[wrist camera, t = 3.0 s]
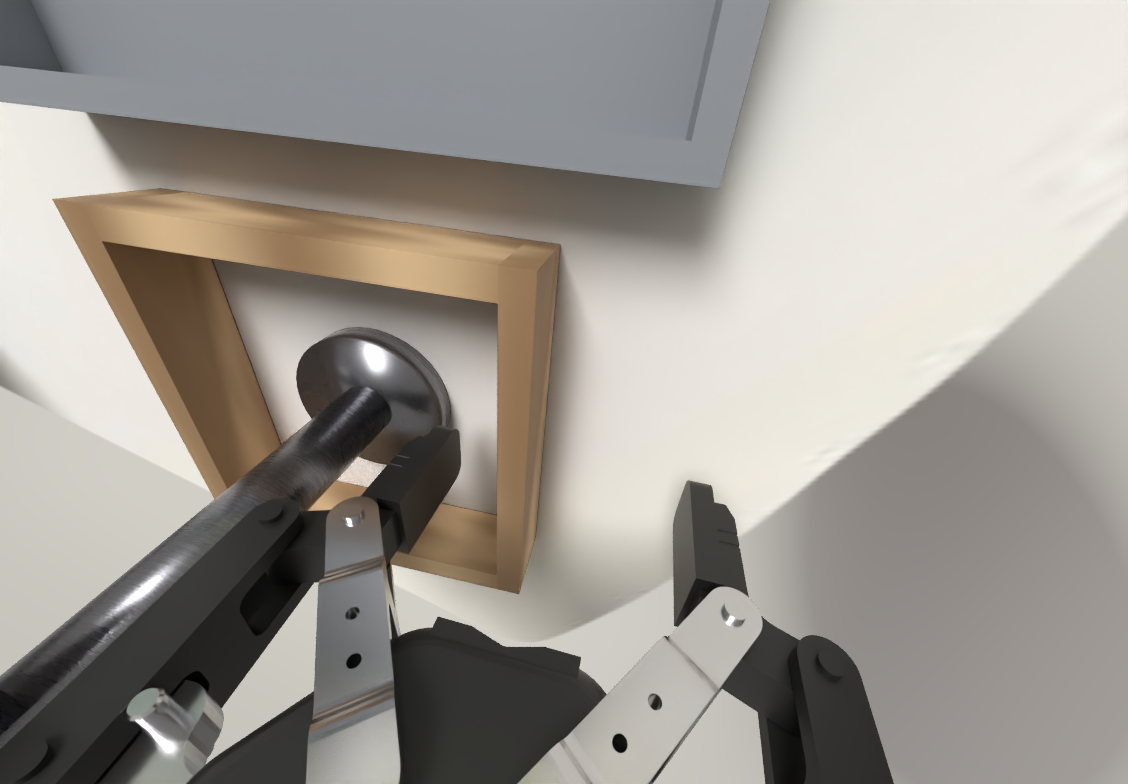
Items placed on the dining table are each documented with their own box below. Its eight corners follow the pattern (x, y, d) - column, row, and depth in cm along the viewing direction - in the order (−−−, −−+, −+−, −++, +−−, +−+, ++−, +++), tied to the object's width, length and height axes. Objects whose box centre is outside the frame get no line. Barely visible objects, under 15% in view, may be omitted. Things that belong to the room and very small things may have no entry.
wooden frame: (286, 500, 22) (240, 546, 20) (160, 188, 14) (52, 198, 11) (534, 556, 21) (517, 612, 18) (560, 244, 12) (537, 270, 10)
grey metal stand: (333, 444, 19) (-54, 817, 9) (294, 303, 15) (-485, 661, 5) (454, 469, 19) (195, 903, 8) (444, 328, 15) (-75, 801, 4)
